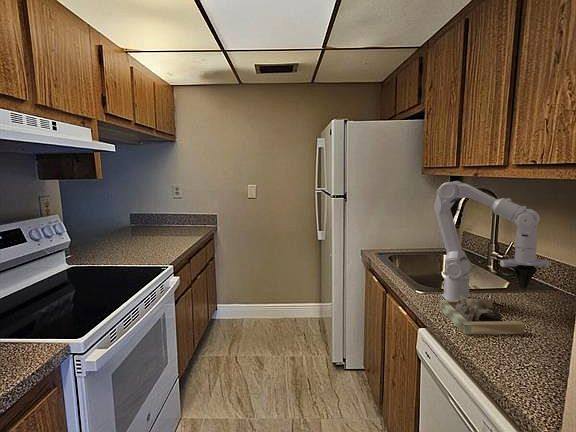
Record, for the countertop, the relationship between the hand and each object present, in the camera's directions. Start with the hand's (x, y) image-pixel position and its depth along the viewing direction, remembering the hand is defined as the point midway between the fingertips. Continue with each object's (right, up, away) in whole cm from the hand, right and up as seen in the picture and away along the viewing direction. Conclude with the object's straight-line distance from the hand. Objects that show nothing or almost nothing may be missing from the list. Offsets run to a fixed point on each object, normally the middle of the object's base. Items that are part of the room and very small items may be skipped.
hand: (523, 287), depth 119 cm
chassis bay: (-16, -10, -2) cm, 19 cm away
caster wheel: (-15, -11, -2) cm, 19 cm away
